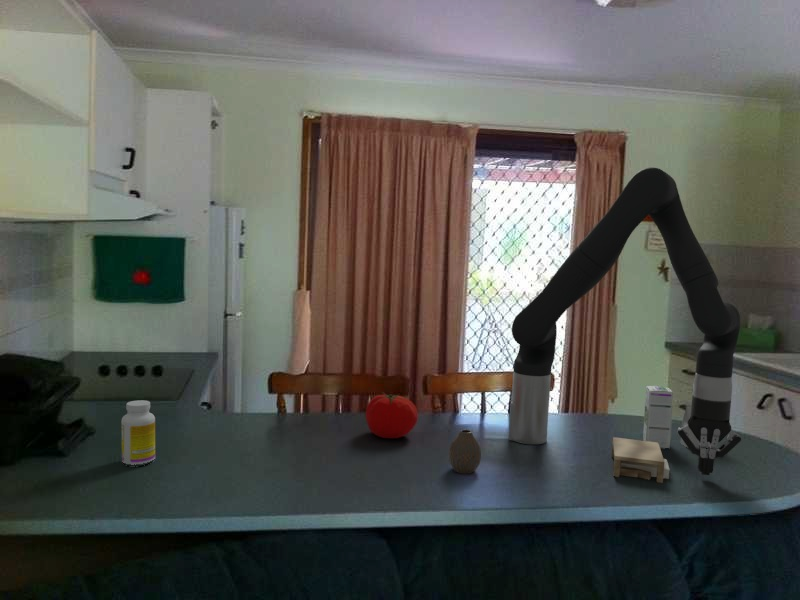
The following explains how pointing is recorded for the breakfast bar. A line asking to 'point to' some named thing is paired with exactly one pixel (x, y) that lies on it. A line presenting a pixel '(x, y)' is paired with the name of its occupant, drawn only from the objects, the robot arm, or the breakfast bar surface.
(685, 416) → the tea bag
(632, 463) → the tile
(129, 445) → the supplement bottle
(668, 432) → the syrup box
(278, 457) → the breakfast bar surface
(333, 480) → the breakfast bar surface
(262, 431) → the breakfast bar surface
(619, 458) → the small tan table
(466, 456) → the vase
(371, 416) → the tomato
